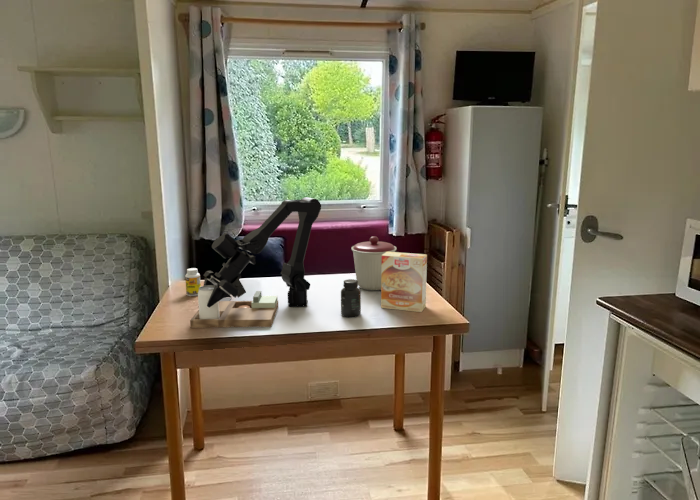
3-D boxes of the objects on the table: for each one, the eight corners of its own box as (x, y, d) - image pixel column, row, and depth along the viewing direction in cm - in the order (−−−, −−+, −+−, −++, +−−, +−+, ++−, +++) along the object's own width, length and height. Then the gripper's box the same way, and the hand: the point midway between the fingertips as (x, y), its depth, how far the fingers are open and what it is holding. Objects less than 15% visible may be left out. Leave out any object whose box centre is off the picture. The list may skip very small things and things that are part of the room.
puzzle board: (278, 307, 189) (278, 300, 189) (271, 326, 170) (270, 319, 169) (206, 308, 189) (205, 301, 188) (190, 327, 169) (190, 320, 169)
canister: (354, 280, 223) (354, 231, 219) (397, 282, 221) (397, 232, 216) (348, 293, 206) (348, 240, 201) (394, 294, 203) (395, 241, 199)
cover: (277, 300, 188) (277, 290, 187) (274, 307, 180) (274, 297, 180) (255, 300, 188) (254, 290, 187) (251, 308, 180) (251, 297, 180)
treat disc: (250, 310, 187) (250, 305, 186) (249, 313, 183) (248, 308, 182) (239, 310, 187) (239, 305, 186) (237, 314, 183) (237, 309, 182)
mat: (231, 298, 200) (231, 297, 200) (226, 306, 190) (226, 305, 190) (205, 298, 200) (205, 297, 200) (198, 307, 190) (198, 306, 190)
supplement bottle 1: (183, 295, 204) (181, 270, 201) (191, 291, 209) (190, 267, 207) (196, 297, 202) (194, 271, 200) (204, 293, 207) (202, 267, 205)
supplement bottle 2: (337, 313, 183) (337, 279, 180) (355, 310, 185) (355, 277, 183) (345, 319, 176) (345, 284, 174) (364, 316, 179) (364, 282, 177)
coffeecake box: (380, 308, 187) (380, 255, 183) (386, 302, 194) (386, 250, 190) (421, 312, 182) (423, 258, 178) (426, 306, 189) (427, 253, 185)
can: (214, 326, 171) (212, 290, 168) (196, 325, 172) (193, 289, 169) (223, 319, 177) (221, 285, 174) (205, 318, 178) (203, 284, 176)
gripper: (262, 286, 173) (232, 325, 169) (240, 274, 188) (212, 309, 184) (238, 266, 167) (207, 306, 163) (218, 256, 182) (188, 292, 178)
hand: (204, 304), depth 172 cm, fingers open, 7 cm apart
